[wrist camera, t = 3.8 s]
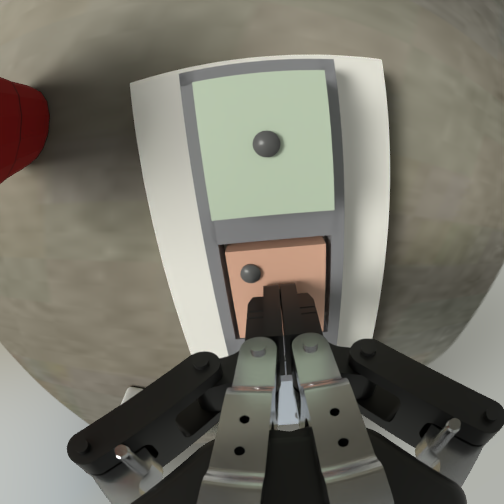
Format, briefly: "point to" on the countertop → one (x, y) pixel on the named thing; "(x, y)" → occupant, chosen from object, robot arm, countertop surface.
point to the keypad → (271, 226)
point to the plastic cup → (21, 126)
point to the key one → (265, 143)
